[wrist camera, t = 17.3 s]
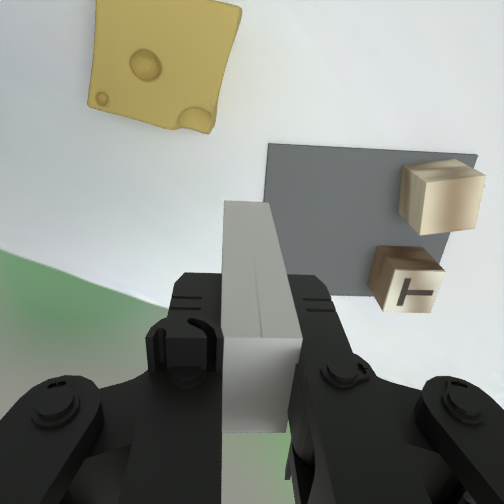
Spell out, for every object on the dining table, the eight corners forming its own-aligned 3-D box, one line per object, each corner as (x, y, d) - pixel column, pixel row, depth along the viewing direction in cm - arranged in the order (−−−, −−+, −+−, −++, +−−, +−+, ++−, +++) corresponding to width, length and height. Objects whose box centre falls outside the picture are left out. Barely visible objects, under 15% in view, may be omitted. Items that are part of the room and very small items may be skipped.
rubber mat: (256, 291, 51) (256, 293, 51) (268, 143, 41) (269, 144, 41) (425, 295, 53) (426, 297, 53) (476, 154, 43) (478, 155, 43)
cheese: (214, 124, 40) (210, 147, 32) (111, 92, 38) (76, 108, 30) (241, 14, 35) (245, 6, 27) (125, -28, 33) (89, -52, 25)
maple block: (398, 213, 46) (419, 235, 41) (402, 165, 43) (426, 182, 38) (447, 207, 46) (475, 228, 41) (455, 158, 43) (486, 175, 38)
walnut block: (430, 313, 46) (410, 285, 51) (445, 271, 43) (422, 246, 48) (383, 312, 46) (367, 284, 51) (395, 270, 43) (377, 245, 48)
